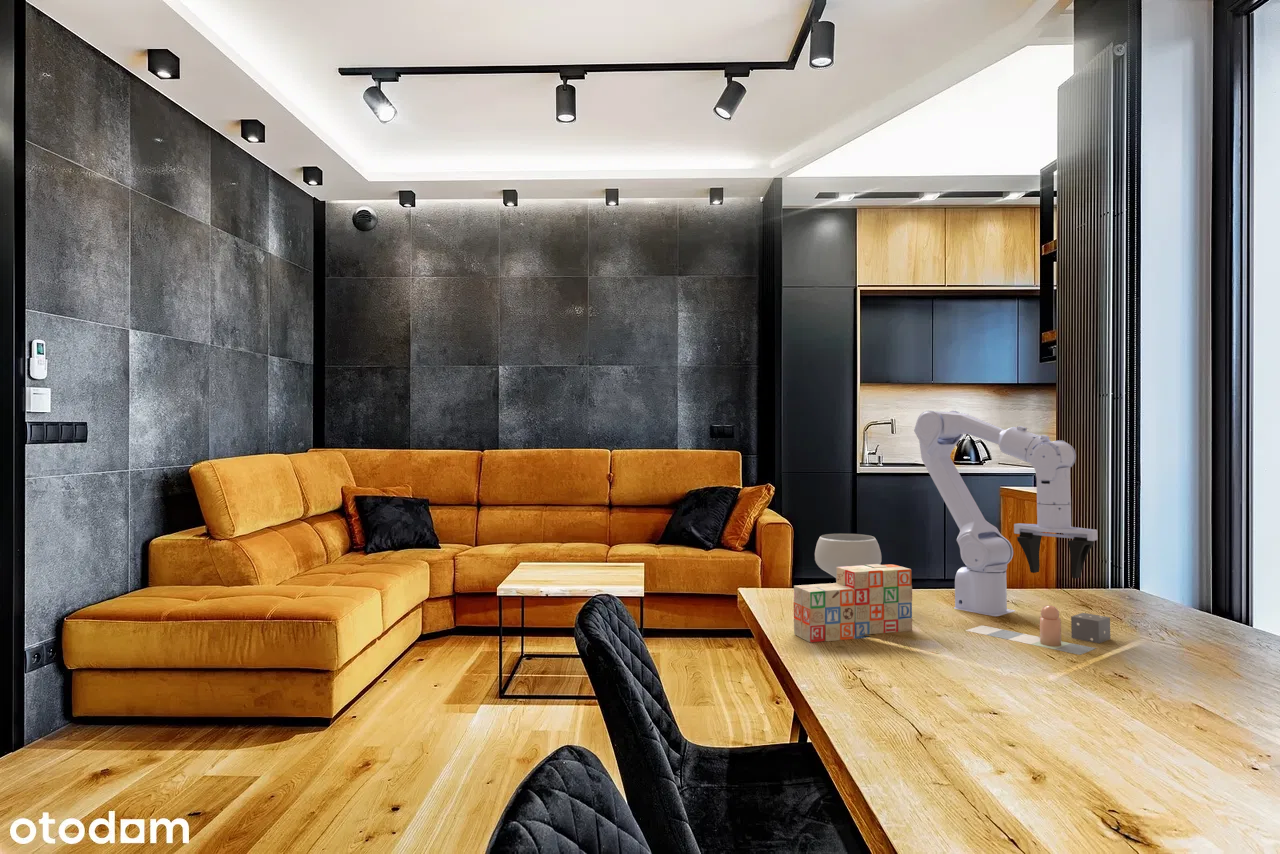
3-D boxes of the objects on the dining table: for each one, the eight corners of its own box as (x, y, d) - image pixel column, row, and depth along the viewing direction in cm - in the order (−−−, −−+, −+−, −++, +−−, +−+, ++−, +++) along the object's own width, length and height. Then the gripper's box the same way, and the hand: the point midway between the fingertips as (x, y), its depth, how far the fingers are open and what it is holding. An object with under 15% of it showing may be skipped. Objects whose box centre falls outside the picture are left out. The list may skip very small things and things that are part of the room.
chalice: (868, 598, 171) (867, 532, 171) (892, 612, 157) (891, 540, 157) (807, 600, 170) (806, 533, 170) (826, 614, 156) (825, 541, 156)
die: (1071, 641, 134) (1070, 615, 134) (1083, 637, 137) (1082, 612, 137) (1099, 647, 130) (1098, 620, 130) (1111, 643, 133) (1110, 616, 133)
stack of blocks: (809, 644, 134) (808, 574, 135) (793, 635, 140) (792, 569, 141) (913, 634, 140) (912, 567, 140) (893, 626, 146) (892, 562, 146)
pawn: (1036, 643, 131) (1035, 605, 131) (1045, 640, 132) (1044, 602, 132) (1055, 647, 128) (1054, 608, 128) (1064, 643, 130) (1063, 605, 130)
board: (965, 633, 140) (965, 630, 140) (982, 628, 143) (982, 625, 143) (1080, 658, 124) (1080, 654, 124) (1096, 651, 127) (1096, 648, 127)
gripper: (1005, 502, 148) (1007, 572, 148) (1084, 507, 136) (1086, 582, 136) (1023, 500, 152) (1024, 568, 152) (1101, 505, 140) (1103, 578, 140)
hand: (1055, 574), depth 144 cm, fingers open, 7 cm apart
